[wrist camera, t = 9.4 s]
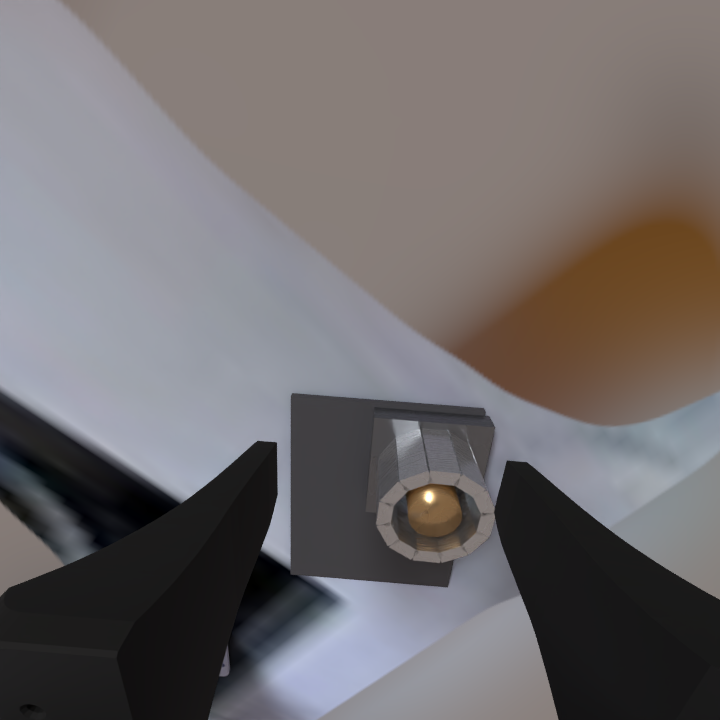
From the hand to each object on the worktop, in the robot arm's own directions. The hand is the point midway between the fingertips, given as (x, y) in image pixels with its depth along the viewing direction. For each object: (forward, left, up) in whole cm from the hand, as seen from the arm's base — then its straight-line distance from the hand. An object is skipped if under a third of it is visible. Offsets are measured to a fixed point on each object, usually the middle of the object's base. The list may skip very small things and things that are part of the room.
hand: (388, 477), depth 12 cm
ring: (-6, -3, -8) cm, 11 cm away
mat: (-10, -1, -10) cm, 14 cm away
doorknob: (-6, -3, -10) cm, 12 cm away
